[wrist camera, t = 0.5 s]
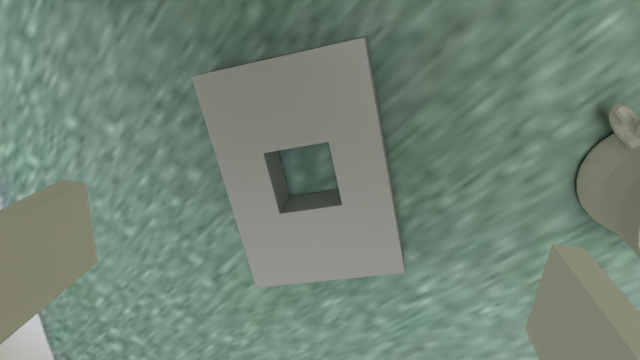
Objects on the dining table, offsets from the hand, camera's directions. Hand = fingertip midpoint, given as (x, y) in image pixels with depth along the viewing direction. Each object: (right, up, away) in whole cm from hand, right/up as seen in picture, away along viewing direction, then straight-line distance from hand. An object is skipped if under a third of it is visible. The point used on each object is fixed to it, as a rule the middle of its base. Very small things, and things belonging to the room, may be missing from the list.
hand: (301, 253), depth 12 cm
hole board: (0, +4, +27) cm, 27 cm away
